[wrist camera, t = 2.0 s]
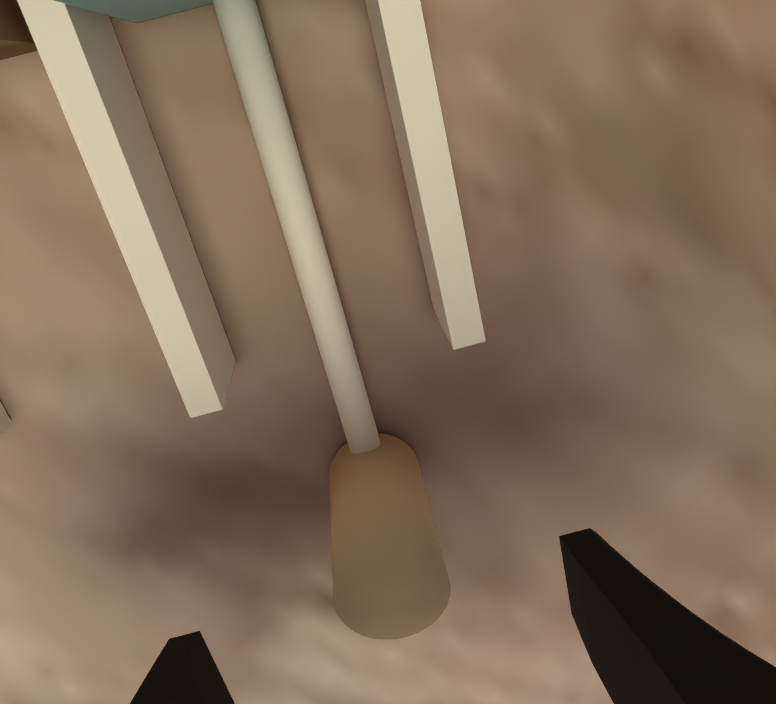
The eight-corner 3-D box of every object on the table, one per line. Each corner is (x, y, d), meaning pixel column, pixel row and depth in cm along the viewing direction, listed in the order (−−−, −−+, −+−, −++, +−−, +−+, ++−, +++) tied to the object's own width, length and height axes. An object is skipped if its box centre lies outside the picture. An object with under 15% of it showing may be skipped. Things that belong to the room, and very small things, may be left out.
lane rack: (297, -502, 11) (292, -662, 8) (461, 303, 16) (485, 341, 14) (-437, -310, 11) (-644, -416, 8) (-18, 427, 16) (-72, 486, 14)
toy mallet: (271, -288, 11) (247, -492, 7) (455, 490, 18) (496, 613, 14) (47, -229, 11) (-105, -400, 7) (314, 526, 18) (313, 660, 14)
